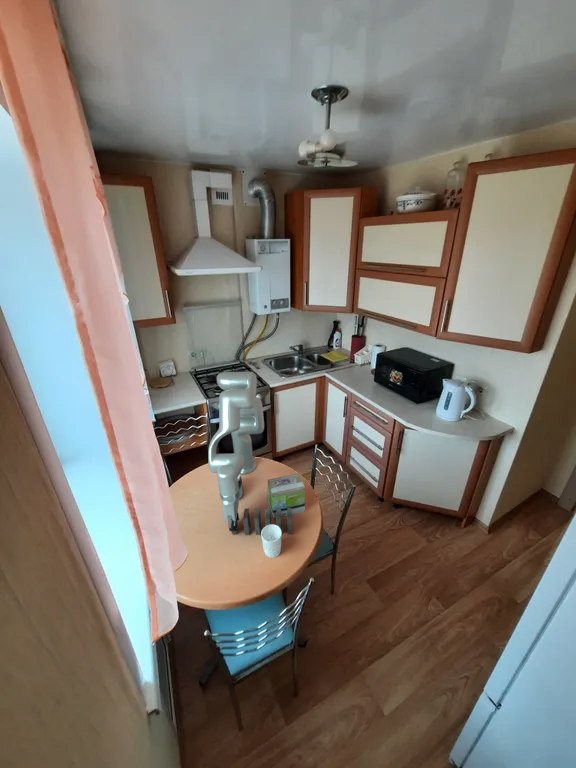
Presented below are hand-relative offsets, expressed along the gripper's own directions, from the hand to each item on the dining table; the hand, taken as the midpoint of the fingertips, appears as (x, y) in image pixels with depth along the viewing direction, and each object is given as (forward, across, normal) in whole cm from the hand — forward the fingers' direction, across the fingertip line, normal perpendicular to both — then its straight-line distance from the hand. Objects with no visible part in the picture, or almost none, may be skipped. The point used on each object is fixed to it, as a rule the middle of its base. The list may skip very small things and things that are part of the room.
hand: (234, 524), depth 132 cm
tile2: (+3, 0, +10) cm, 10 cm away
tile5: (+3, 0, +24) cm, 24 cm away
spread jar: (+3, -21, -5) cm, 22 cm away
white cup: (+3, +10, +16) cm, 19 cm away
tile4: (+3, 0, +19) cm, 19 cm away
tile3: (+3, 0, +14) cm, 15 cm away
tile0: (+2, 0, 0) cm, 2 cm away
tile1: (+3, 0, +6) cm, 6 cm away
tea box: (+3, -12, +22) cm, 25 cm away
